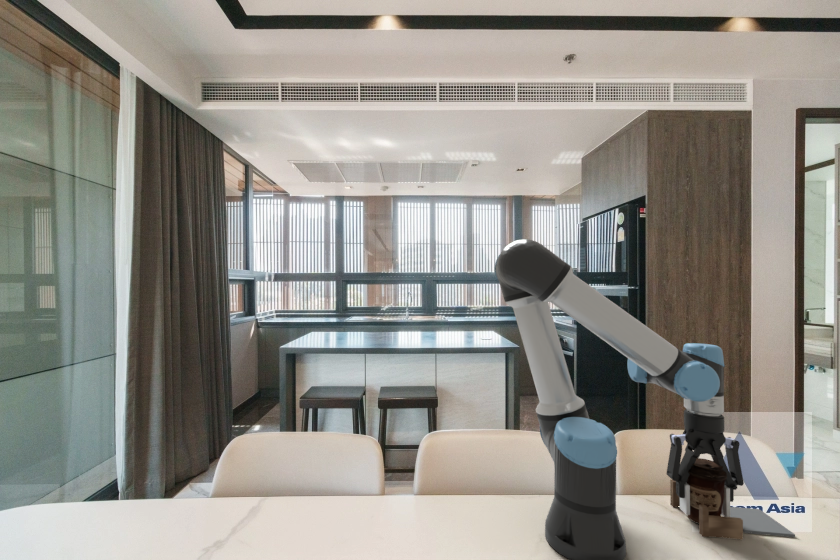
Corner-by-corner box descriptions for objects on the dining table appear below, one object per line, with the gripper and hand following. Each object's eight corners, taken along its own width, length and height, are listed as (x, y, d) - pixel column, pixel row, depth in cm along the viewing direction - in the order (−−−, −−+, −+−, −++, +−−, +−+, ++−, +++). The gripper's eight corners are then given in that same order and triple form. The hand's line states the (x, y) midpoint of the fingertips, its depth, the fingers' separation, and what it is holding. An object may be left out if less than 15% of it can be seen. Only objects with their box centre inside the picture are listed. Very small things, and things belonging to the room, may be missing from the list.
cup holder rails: (702, 536, 82) (702, 507, 82) (670, 504, 94) (670, 479, 95) (743, 540, 81) (743, 510, 81) (705, 507, 93) (705, 482, 94)
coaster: (744, 532, 83) (744, 529, 83) (714, 507, 93) (714, 505, 93) (795, 537, 82) (795, 534, 82) (759, 511, 92) (759, 509, 92)
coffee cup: (728, 537, 82) (727, 474, 82) (681, 522, 87) (680, 463, 87) (727, 519, 88) (726, 461, 89) (683, 506, 93) (682, 452, 94)
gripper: (664, 413, 86) (664, 518, 85) (765, 419, 84) (766, 527, 83) (648, 404, 94) (648, 500, 92) (740, 409, 91) (741, 508, 90)
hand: (704, 513), depth 88 cm, fingers closed on coffee cup, 8 cm apart
